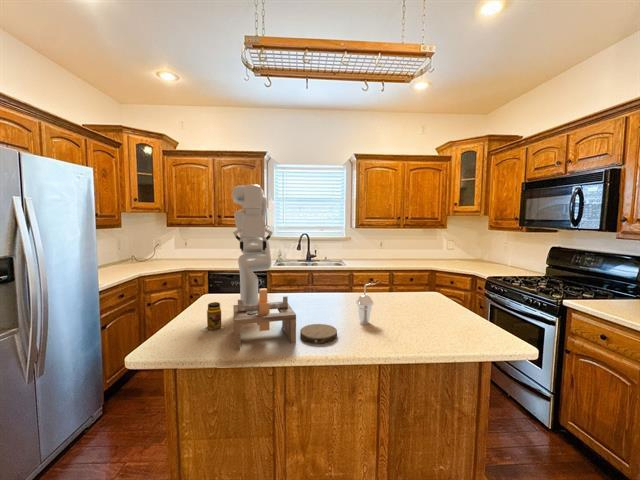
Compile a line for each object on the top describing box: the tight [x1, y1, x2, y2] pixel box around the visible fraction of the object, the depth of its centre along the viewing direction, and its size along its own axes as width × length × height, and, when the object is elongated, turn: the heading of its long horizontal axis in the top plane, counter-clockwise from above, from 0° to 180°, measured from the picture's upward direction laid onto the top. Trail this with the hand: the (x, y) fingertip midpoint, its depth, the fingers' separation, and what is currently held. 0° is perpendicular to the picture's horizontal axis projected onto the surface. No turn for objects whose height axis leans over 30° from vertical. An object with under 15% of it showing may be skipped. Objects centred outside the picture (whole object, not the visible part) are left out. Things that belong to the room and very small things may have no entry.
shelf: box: [232, 295, 297, 351], centre depth 127 cm, size 20×24×17 cm
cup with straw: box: [355, 282, 377, 325], centre depth 146 cm, size 8×9×20 cm
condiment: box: [200, 301, 225, 334], centre depth 136 cm, size 7×8×12 cm
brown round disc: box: [299, 323, 338, 345], centre depth 129 cm, size 16×16×3 cm
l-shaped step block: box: [256, 287, 270, 332], centre depth 127 cm, size 8×4×16 cm, turn 18°
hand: (253, 250), depth 135 cm, fingers open, 9 cm apart
